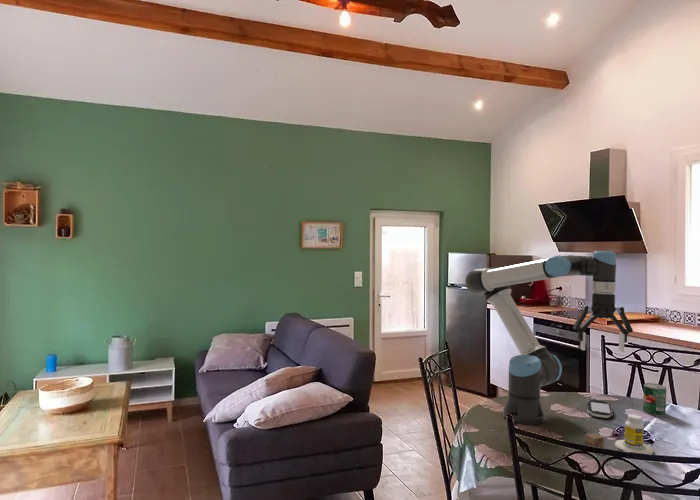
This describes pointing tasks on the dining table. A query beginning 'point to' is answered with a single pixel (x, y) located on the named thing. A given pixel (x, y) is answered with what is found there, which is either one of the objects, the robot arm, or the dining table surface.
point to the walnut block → (594, 440)
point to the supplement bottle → (634, 431)
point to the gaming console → (599, 409)
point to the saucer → (644, 449)
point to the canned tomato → (654, 399)
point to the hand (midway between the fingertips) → (602, 350)
